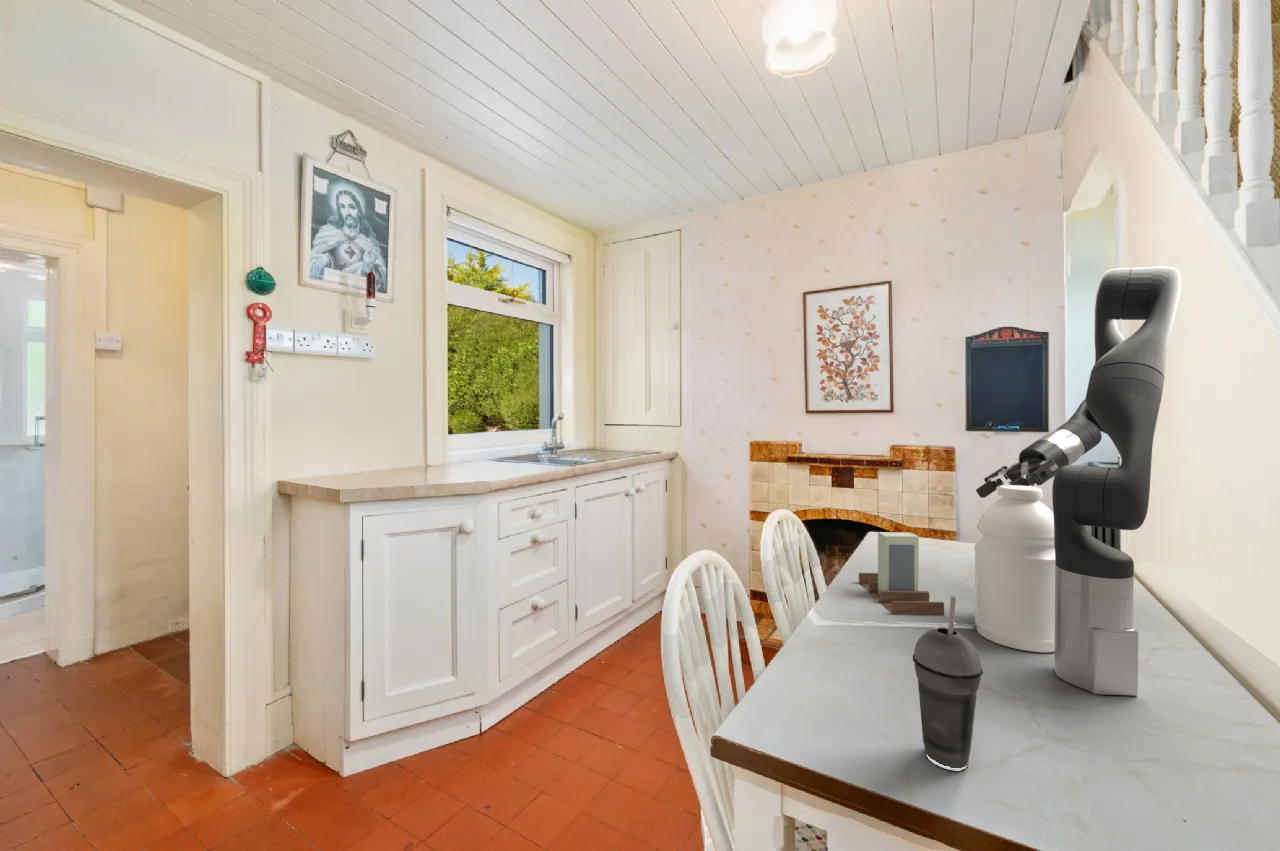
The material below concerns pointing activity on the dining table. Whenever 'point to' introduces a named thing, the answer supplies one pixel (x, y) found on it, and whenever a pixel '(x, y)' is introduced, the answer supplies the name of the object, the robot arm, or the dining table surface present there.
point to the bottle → (1016, 571)
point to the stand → (901, 598)
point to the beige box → (898, 561)
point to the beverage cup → (947, 692)
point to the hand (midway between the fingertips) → (993, 493)
